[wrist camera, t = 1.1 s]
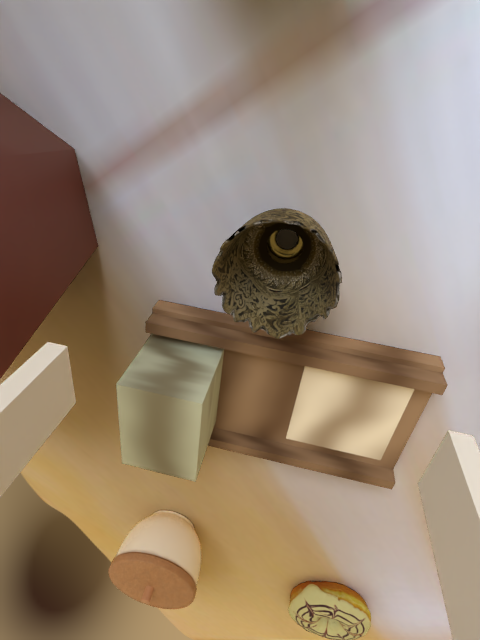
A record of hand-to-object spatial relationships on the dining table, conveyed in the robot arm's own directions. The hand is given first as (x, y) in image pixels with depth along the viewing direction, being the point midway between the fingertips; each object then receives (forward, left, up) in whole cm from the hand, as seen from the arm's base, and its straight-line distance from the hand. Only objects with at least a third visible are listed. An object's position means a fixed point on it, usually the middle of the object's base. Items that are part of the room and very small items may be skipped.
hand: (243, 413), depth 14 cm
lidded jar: (+42, -8, -19) cm, 47 cm away
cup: (0, 0, -19) cm, 19 cm away
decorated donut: (+50, +15, -19) cm, 55 cm away
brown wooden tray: (+14, +2, -18) cm, 23 cm away
